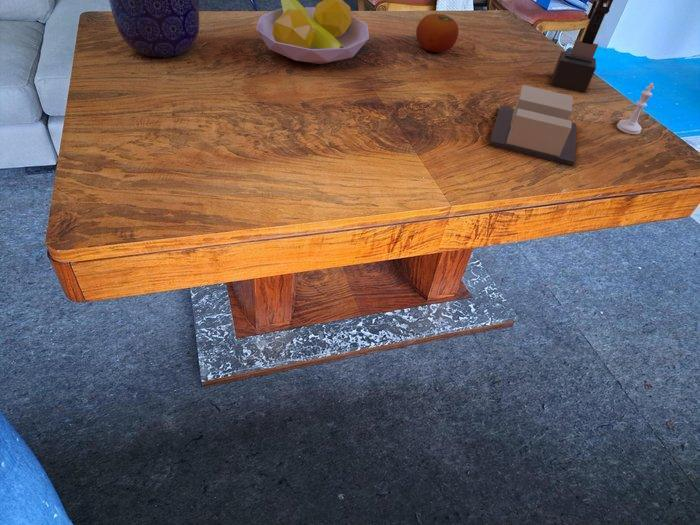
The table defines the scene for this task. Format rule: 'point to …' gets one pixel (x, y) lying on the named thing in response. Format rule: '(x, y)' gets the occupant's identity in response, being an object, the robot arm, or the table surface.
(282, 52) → the fruit bowl
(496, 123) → the cake board
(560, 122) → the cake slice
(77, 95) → the table surface
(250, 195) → the table surface
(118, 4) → the planter
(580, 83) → the knife block
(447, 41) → the fruit
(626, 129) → the chess piece
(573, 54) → the knife
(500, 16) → the table surface
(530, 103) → the cake
